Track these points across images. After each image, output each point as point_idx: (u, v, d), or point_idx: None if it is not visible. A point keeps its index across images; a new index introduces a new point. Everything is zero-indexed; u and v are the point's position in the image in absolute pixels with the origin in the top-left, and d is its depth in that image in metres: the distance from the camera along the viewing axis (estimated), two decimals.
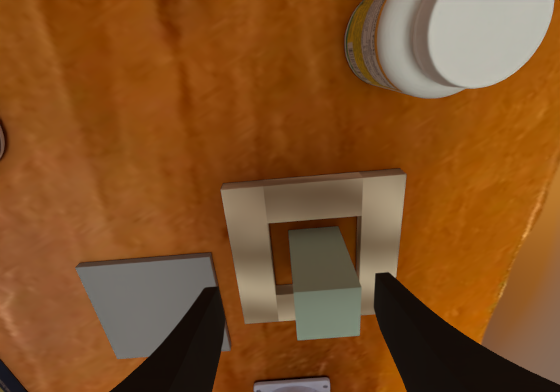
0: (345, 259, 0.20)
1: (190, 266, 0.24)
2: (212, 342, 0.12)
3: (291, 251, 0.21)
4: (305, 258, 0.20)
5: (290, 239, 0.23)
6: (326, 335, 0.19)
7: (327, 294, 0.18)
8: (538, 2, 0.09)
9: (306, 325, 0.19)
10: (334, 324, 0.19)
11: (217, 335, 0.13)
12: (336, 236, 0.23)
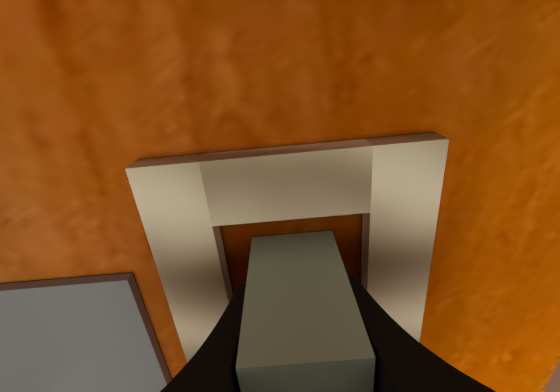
0: (342, 291, 0.11)
1: (99, 295, 0.15)
2: None
3: (249, 274, 0.12)
4: (270, 288, 0.11)
5: (252, 252, 0.14)
6: None
7: (304, 371, 0.09)
8: None
9: None
10: None
11: None
12: (328, 247, 0.14)
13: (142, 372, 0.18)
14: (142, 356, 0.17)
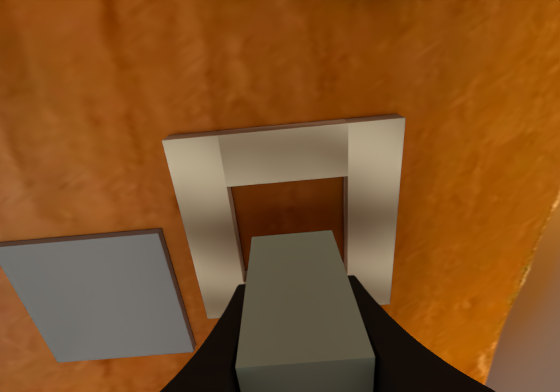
0: (342, 291, 0.11)
1: (135, 245, 0.19)
2: None
3: (249, 274, 0.12)
4: (270, 288, 0.11)
5: (252, 252, 0.14)
6: None
7: (304, 370, 0.09)
8: None
9: None
10: None
11: None
12: (328, 247, 0.14)
13: (166, 315, 0.22)
14: (167, 300, 0.21)
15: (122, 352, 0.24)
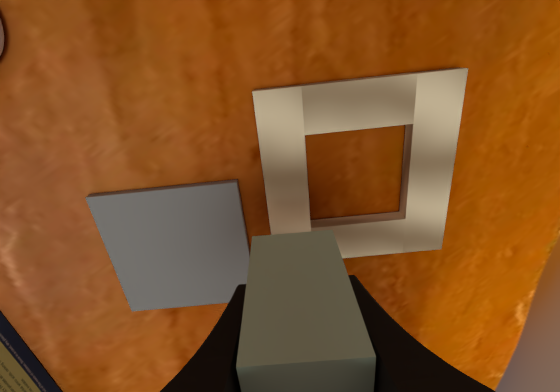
0: (343, 290, 0.11)
1: (214, 194, 0.22)
2: None
3: (250, 274, 0.12)
4: (271, 288, 0.11)
5: (252, 252, 0.14)
6: None
7: (305, 369, 0.09)
8: None
9: None
10: None
11: None
12: (328, 247, 0.14)
13: (235, 263, 0.24)
14: (238, 248, 0.24)
15: (192, 300, 0.26)
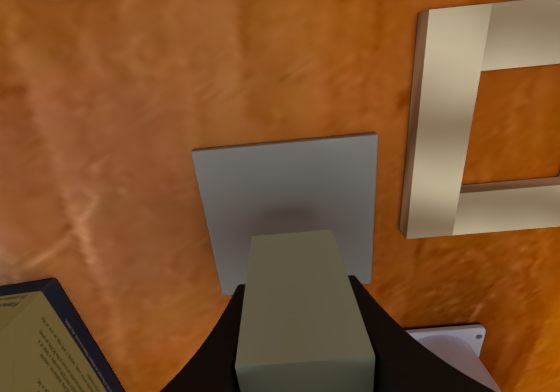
0: (342, 290, 0.11)
1: (348, 150, 0.18)
2: None
3: (249, 273, 0.12)
4: (270, 287, 0.11)
5: (252, 251, 0.14)
6: None
7: (304, 369, 0.09)
8: None
9: None
10: None
11: None
12: (328, 246, 0.14)
13: (355, 237, 0.20)
14: (362, 219, 0.20)
15: None
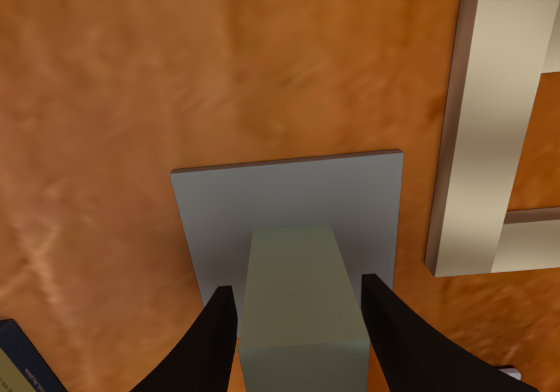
0: (340, 280, 0.11)
1: (366, 171, 0.14)
2: (227, 340, 0.12)
3: (250, 264, 0.13)
4: (270, 277, 0.12)
5: (253, 244, 0.14)
6: None
7: (303, 351, 0.09)
8: None
9: None
10: None
11: (231, 334, 0.13)
12: (326, 239, 0.14)
13: None
14: (380, 252, 0.16)
15: None
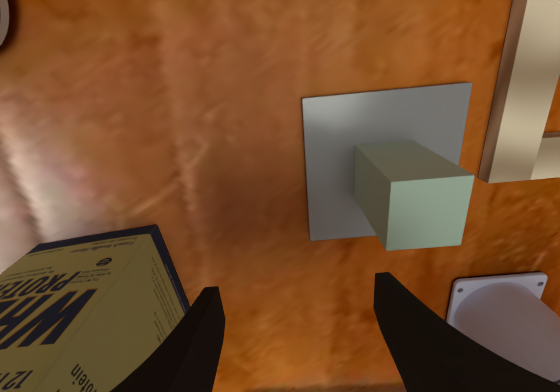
0: (438, 159, 0.17)
1: (443, 97, 0.20)
2: (212, 342, 0.12)
3: (368, 157, 0.18)
4: (388, 160, 0.17)
5: (362, 150, 0.20)
6: (420, 244, 0.16)
7: (431, 184, 0.15)
8: None
9: (399, 229, 0.16)
10: (433, 229, 0.16)
11: (217, 335, 0.13)
12: (416, 146, 0.19)
13: None
14: None
15: None
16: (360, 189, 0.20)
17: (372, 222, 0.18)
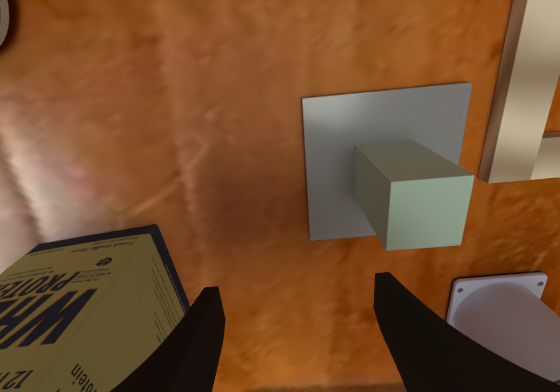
0: (438, 159, 0.17)
1: (444, 97, 0.20)
2: (212, 341, 0.12)
3: (368, 157, 0.18)
4: (388, 160, 0.17)
5: (362, 150, 0.20)
6: (420, 244, 0.16)
7: (431, 184, 0.15)
8: None
9: (399, 229, 0.16)
10: (433, 229, 0.16)
11: (217, 335, 0.13)
12: (416, 146, 0.19)
13: None
14: None
15: None
16: (360, 189, 0.20)
17: (372, 222, 0.18)
